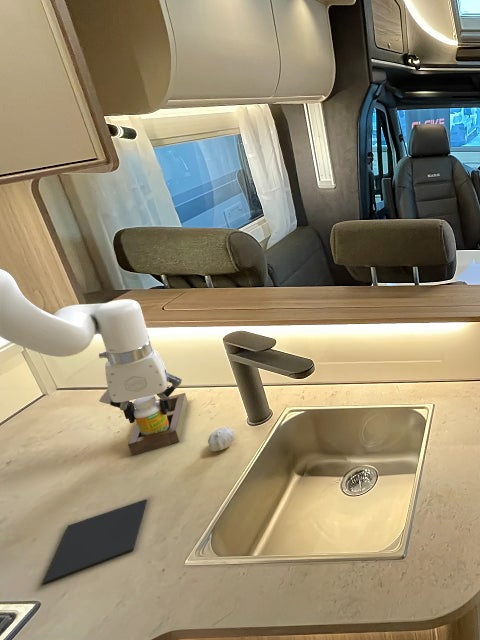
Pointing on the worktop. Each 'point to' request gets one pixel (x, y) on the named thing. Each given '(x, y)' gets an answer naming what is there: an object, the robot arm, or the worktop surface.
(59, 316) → the robot arm
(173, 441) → the stand
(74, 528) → the mat
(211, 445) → the garlic
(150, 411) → the supplement bottle
